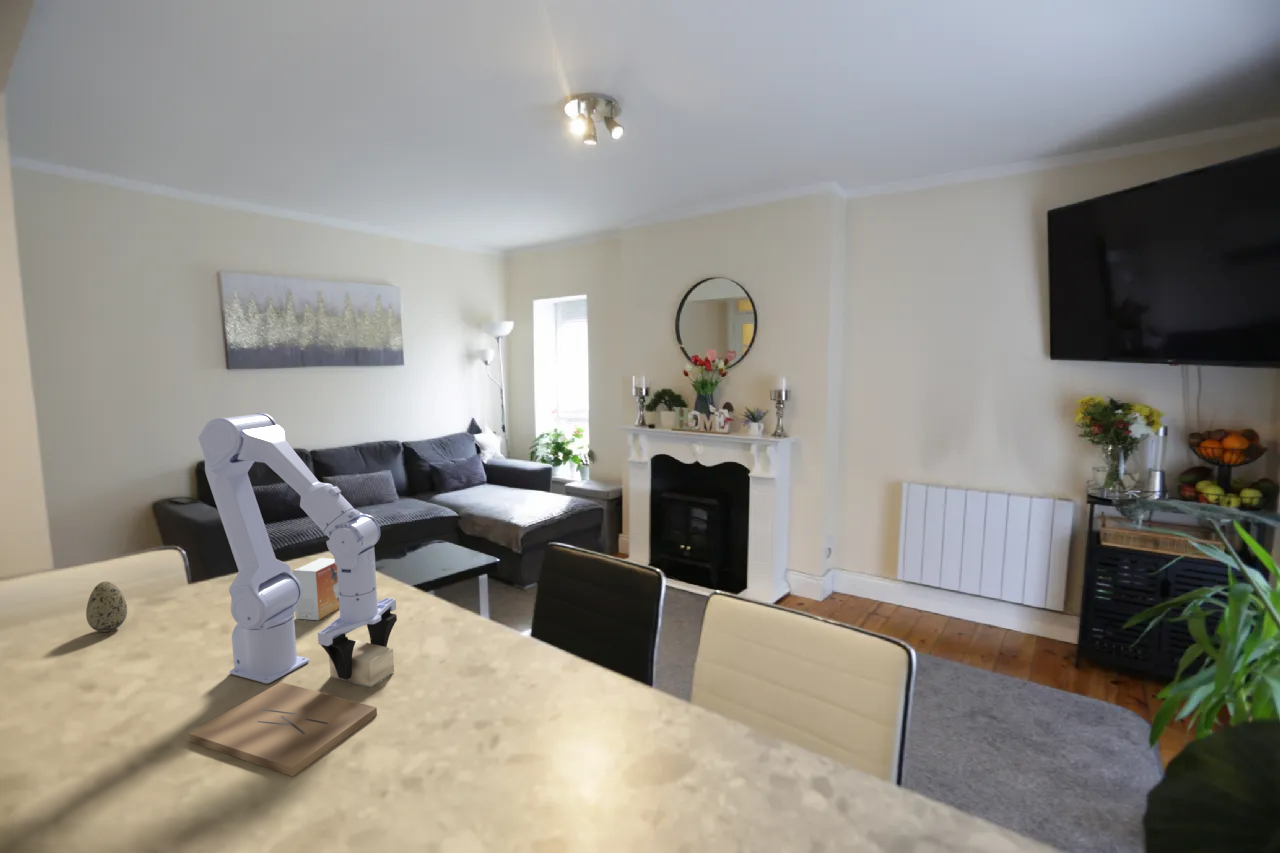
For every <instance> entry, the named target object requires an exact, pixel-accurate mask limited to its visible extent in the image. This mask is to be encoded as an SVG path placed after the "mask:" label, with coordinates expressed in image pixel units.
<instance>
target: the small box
mask: <svg viewBox="0 0 1280 853" xmlns="http://www.w3.org/2000/svg"><path fill="white" fill-rule="evenodd" d="M292 573H293V575H294V576H295V577H296V578H297V579H298V580H299V582H300V584H301V586H302V597H301V599H300V601H299V602H298V603H297V604H296V611H295V612H294V615H295V619H298V620H307V621H320V620H322V619H323V618H324V617H327V616H329V615H330V614H332V613H333V612H335V611H337V610H340V607H339V591H338V575H337V565H335V559H334V558H327V557H319V558H317V559H316V560H313V561H311V562H309V563H307V564H304V565H302V566H299V567H297V568H295V569H293V570H292Z"/></svg>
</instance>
